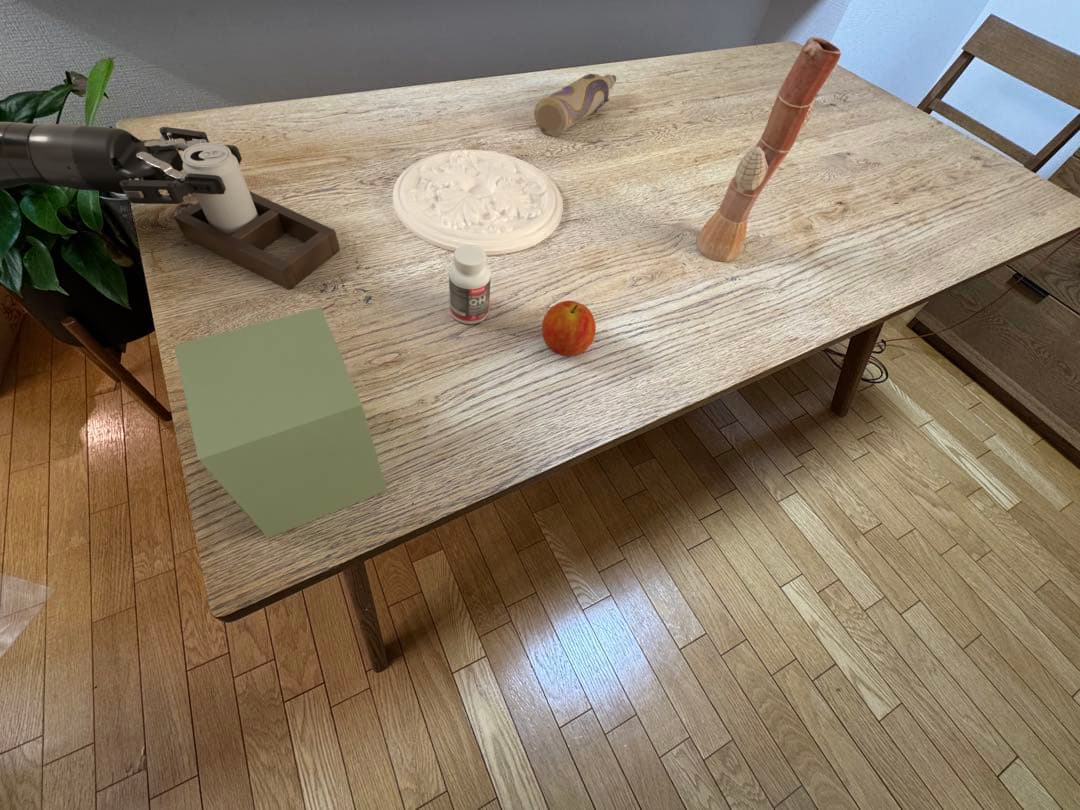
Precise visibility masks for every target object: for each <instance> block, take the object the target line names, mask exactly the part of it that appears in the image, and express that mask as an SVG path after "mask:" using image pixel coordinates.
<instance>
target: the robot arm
mask: <svg viewBox="0 0 1080 810" xmlns="http://www.w3.org/2000/svg"><path fill="white" fill-rule="evenodd" d="M158 131H159V133H160V135H161V136H160V137H159V138H158V139H157V138H156V139H148V140H146V139H145V140H142V139H139V138H137V137H136V136H135V135H133V134H132V133H131V132H129V131H128V130H125V129H124V128H123V129H122V128H117V127H105V126H91V125H82V124H81V125H80V124H70V123H69V124H68V123H53V124H42V123H41V124H40V123H28V122H14V121H0V190H4V189H9V188H14V187H19V186H23V185H34V186H35V185H36V186H37V185H38V186H50V187H51V186H52V187H62V188H67V189H68V188H69V189H73V190H80V191H91V192H92V191H93V192H108V193H121V194H122V193H123V194H125V196H126V197H127V199H128V201H129V202H130V203H131V204H134V205H136V204H138V205H139V204H140V205H141V204H142V205H145V204H146V205H181V204H183V203H184V201H185V200H184V197H191V196H193V195H195V193H200V194H224V193H225V191H226V188H225V185H224V183H223V181H222V178H221V177H219V176H217V175H205V174H192V173H189V174H188V175H187V176H186V174H185V172H182V171H184V169H183V160H182V155H181V154H180V151H182V152H183V151H184V150H185V149H187V148H188V147H190V146H192V145H195V144H199V143H210V140H209V138H208V135H207V132H205V131H199V130H193V129H185V128H177V127H169V126H161V127H159V128H158ZM224 145H225V146H227V147H228V148H229V149H230V151H231V153H232V154H233V155H234V156H235V157H236V158H237V160H238V163H239V165H240V164H241V163H242V161H243V158H242V155H241V152H240V149H239V148H238V147H237V146H236V145H232V144H224ZM159 190H160V191H163V190H164V191H166V192H167V194H163V193H161V192H160V191H159Z"/></svg>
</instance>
